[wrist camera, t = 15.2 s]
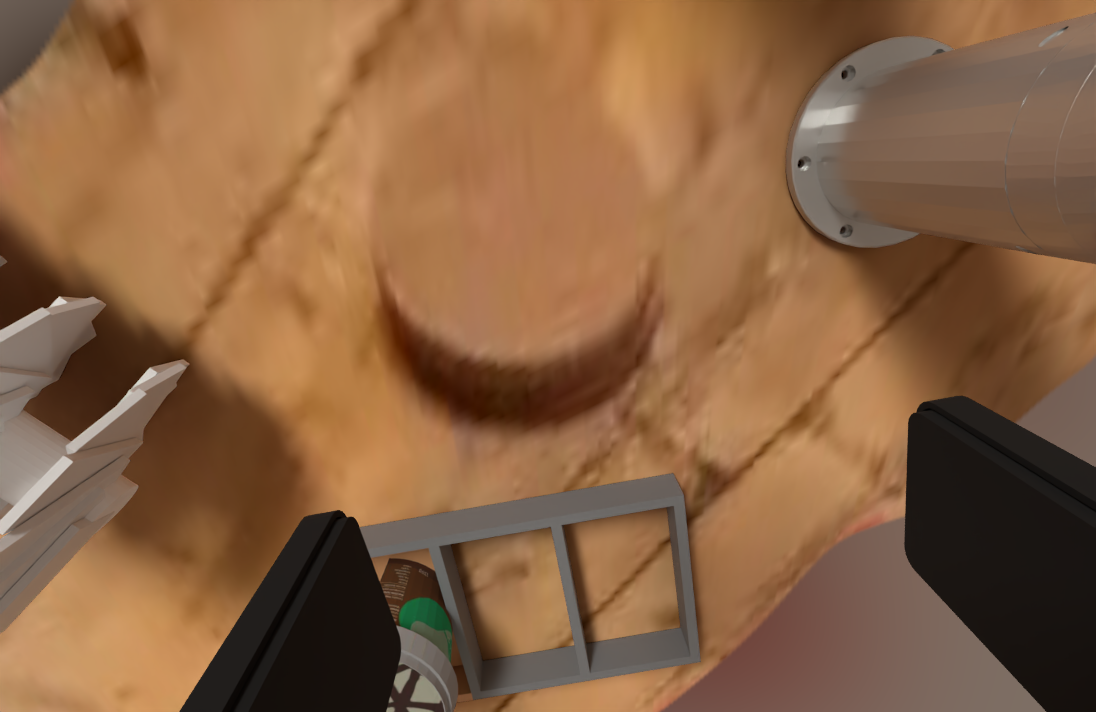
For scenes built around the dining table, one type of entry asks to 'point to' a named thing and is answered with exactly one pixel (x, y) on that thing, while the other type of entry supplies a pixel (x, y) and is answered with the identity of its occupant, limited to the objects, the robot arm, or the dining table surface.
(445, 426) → the dining table surface
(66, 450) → the spiral staircase
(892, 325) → the dining table surface
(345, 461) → the dining table surface
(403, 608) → the food container
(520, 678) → the rack
